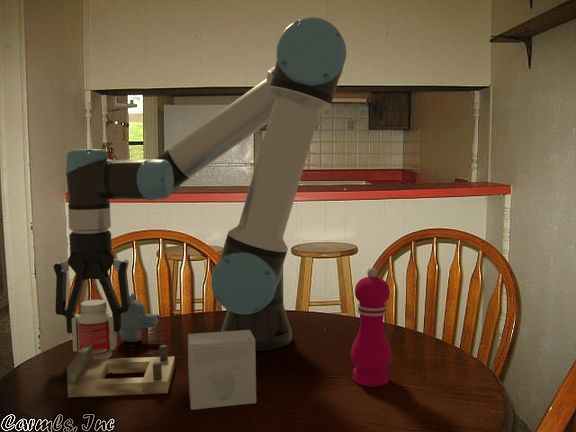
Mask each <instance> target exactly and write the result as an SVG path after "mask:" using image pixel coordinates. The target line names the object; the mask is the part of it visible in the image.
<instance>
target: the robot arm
mask: <svg viewBox="0 0 576 432" xmlns="http://www.w3.org/2000/svg"><path fill="white" fill-rule="evenodd" d="M346 47H347V46H346V42H345V40H344V37H343V35H342V34H341V32H340V30H339V29H338V28H337V27H336V26H335V25H334V24H333V23H331V22H330V21H328V20H326V19H324V18H319V17H314V16H309V17H308V16H307V17H303V18H299V19H297V20H295V21H293V22H292V23H291V24H289V25H288V26H287V27H286V28H285V29H284V31H283V32H282V34H281V36H280V37H279V40H278V43H277V46H276V63H275V65H274V66H273V67H271V68H270V69H269V70H268V71H267V75H266V77H265V79H264V80H262V81H261V82H260V83H258V84H257V85H255V86H254V87H253V88H251V89H250V90H248V91H247V92H246V93H244V94H243V95H241V96H240V97H238V98H237V99H236V100H234V101H232V103H230V104H229V105H227V106H226V107H224V108H223V109H221V111H219V112H218V113H216V114H215V115H213V116H212V117H211V118H209V119H208V120H206V121H205V122H204V123H202V124H201V125H200V126H198V127H197V128H195V129H194V130H193V131H191V132H190V133H188V134H187V135H186V136H183V138H182V139H180V140H179V141H177V142H176V143H174V144H173V145H172V146H170V147H168V149H166V150H164V151H163V152H162V153H161V154H159V155H158V156H157V157H155V158H145V159H144V158H141V159H140V158H139V159H138V158H137V159H112V158H110V157H109V154H108V150H107V149H100V148H98V149H97V148H96V149H93V148H90V149H89V148H88V149H86V148H82V149H80V148H79V149H78V148H77V149H74V148H73V149H71V150H69V151H68V152H67V154H66V168H65V169H66V170H65V171H66V172H65V177H66V187H67V188H66V189H67V202H68V206H67V207H68V209H67V210H68V213H67V214H68V229H69V230H70V231H72V232H70V234H69V237H68V238H69V256H68V259H67V260H65V261H59V262H56V263H54V265H53V270H54V273H55V276H56V277H55V278H56V279H55V280H56V281H55V283H56V286H55V287H56V288H55V313H56V315H58V316H60V315H61V316H63V317H65V320H66V332H67V334H72V335H71V336H72V352H78V327H77V318H78V316H79V315H80V314H77V307H78V305H79V301H80V297H81V295H82V291H83V287H84V284H85V281H86V280H91V279H92V280H98V282H99V284H100V285H101V288H102V290H103V293H104V295H105V298H106V302H107V303H108V306H109V309H110V311H111V313H110V316H109V337H110V350H112V351H114V350H116V347H117V345H118V343H117V341H118V340H117V338H118V337H117V332H118V333H119V331H120V329H121V314H122V313H124V312H127V311H128V310H129V309H130V297H129V296H130V291H129V281H128V273H127V271H128V268H129V261H128V260H127V259H124V260H121V259H117V258H115V256H114V254H113V251H112V249H113V248H112V247H113V245H112V232H111V231H110V230H109V229H110V228H111V226H112V223H111V201H110V200H148V201H155V200H164V199H165V200H166V199H168V198H170V196H171V195H172V194H173V193H174V192H176V191H177V190H178V189H179V188H180V187H181V185H182V184H184V183H185V182H187V181H188V180H189V179H191V178H192V177H193V176H195V175H196V174H197V173H199V172H201V171H202V170H203V169H205V168H206V167H207V166H209V165H210V164H212V163H214V162H215V161H216V160H218V159H219V158H220V157H222V156H224V155H225V154H226V153H228V152H229V151H231V150H232V149H234V148H235V147H236V146H238V145H239V144H240V143H242V142H243V141H245V140H246V139H248V138H249V137H250V136H252V135H253V134H254V133H256V132H257V131H258V130H260V129H262V128H263V127H265V126H266V125H267V126H266V128H265V132H264V137H263V139H262V143H261V146H260V149H259V152H258V156H257V160H256V163H255V166H254V170H253V174H252V177H251V181H250V184H249V187H248V191H247V194H246V198H245V202H244V205H243V209H242V211H241V215H240V218H239V219H240V220H239V223H238V225H236V226H235V227H233V228H231V229H230V230H228V232H227V234H226V238H225V241H224V245H223V249H222V252H221V255H220V259H219V260H218V262H217V263H216V264H215V266H214V268H213V270H212V273H211V274H212V275H211V281H210V283H211V284H210V285H211V288H212V293H213V295H214V298H215V299H216V300H217V302H218V303H219V305H220V306H222V307H223V308H224V309H225V310H226V314H225V317H224V321H223V324H222V327H221V331H220V332H226V331H240V330H250V331H251V332H252V334H253V336H254V338H255V352H264V351H271V350H277V349H281V348H284V347H286V346H288V345H289V344H290V343H291V342H292V340H293V339H292V337H293V336H292V327H291V323H290V321H289V319H288V315H287V312H286V309H285V305H284V304H285V303H284V263H285V261H286V257H287V254H288V250H289V248H288V246H287V244H286V242H285V239H284V235H285V231H286V227H287V225H288V221H289V219H290V216H291V215H290V214H291V211H292V209H293V205H294V201H295V198H296V194H297V191H298V188H299V185H300V182H301V178H302V174H303V171H304V168H305V165H306V162H307V158H308V154H309V152H310V147H311V145H312V141H313V138H314V135H315V132H316V128H317V124H318V121H319V118H320V115H321V113H323V112H324V111H326V110H327V109H329V108H331V106H332V104H333V103H332V102H333V100H334V98H335V97H334V96H335V93H336V91H337V87H338V83H339V81H340V78H341V76H342V73H343V70H344V69H343V68H344V66H345V63H346V58H347V48H346ZM112 266H114V267H115V271H116V272H117V280H118V286H119V287H118V288H119V295H120V297H119V298H120V303H119V300H118V296H117V295H116V291H115V290H114V286H113V284H112V282H111V278H110V274H109V271H110V269H111V267H112ZM69 267H70V268H71V269H72V270H73V272H74V273H75V278H74V282H73V283H74V284H73V287H72V291H71V293H70V298H69V301H68V304H67V279H68V276H67V275H68V273H67V272H68V271H69ZM120 304H121V305H120ZM66 305H67V307H66Z"/></svg>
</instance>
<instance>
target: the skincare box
mask: <svg viewBox="0 0 576 432" xmlns="http://www.w3.org/2000/svg"><path fill="white" fill-rule="evenodd" d="M187 351H188V353H187V354H188V355H187V357H188V358H187V364H188V392H189V394H188V395H189V404H190V406H189V407H190V409H191V410H192V411H193V410H202V409H211V408H220V407H231V406H233V407H234V406H240V405H241V406H242V405H253V404H256V403H257V400H258V399H257V371H256V370H257V369H256V368H257V364H256V363H257V361H256V356H257V355H256V351H255V338H254V336H253V334H252V332H251V331H250V330H240V331H226V332H221V331H215V332H199V333H187Z"/></svg>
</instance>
